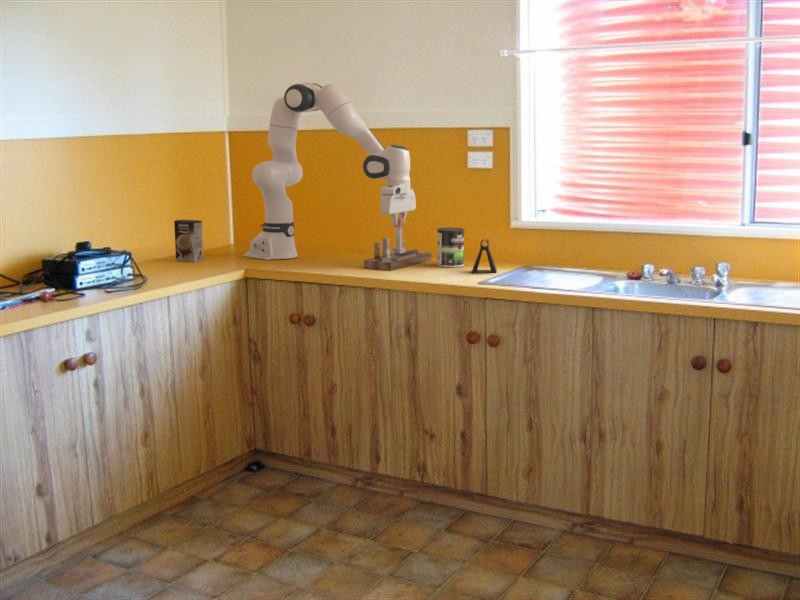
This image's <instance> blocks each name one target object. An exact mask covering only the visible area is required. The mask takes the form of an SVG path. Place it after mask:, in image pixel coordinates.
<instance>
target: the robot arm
mask: <svg viewBox="0 0 800 600" xmlns="http://www.w3.org/2000/svg"><path fill="white" fill-rule="evenodd" d="M315 111H321V112H322V114H323V115H324V117H325V118H326V119H327V121H328V122H329V124H330V125H331V127H332V128H334V129H335V131H337V132H338V133H340V134H343V135H346V136H348V137H349V138H350V137H351V138H353V139H354V140H356V141H357V142H358V143H359V144H360V145H361V147H362V148H363V149H364V150H365V152H366V153H367V154H368V156H366V157H365V158H364V160H363V163H362V170H363V173H364V174H365V176H366V177H367V178H369V179H372V180H380V179H381V180H382V179H386V180H387V181H386V184H385V185H383V186H382V187H381V188H380V189H379V194H380V213H381V214H382V215H386V216H387V215H388V216H389V215H390V216H391V219H392V225H393V226H394V225H398V224H399V220H398V219H397V216H399V214H400V216H403V217H404V224H405V223H406V218H407V213H408V212H412V211H415V210H416V208H417V203H416V202H417V201H416V200H417V199H416V195H415V192H414V189H413V187H412V186H411V177H410V171H411V156H410V155H411V154H410V151H409V149H408V148H407V147H405V146H403V145H398V144H390V145H388V146H387V147H386V148H385V146H384V145H383V144H382V143H381V142H380V141H379V139H378V138H377V137H376V135H375V134H374V133H373V132H372V131H371V129H370V127H368V126H367V124H366V123H365V121H364V120H363V119H362V118H361V116H360V114H359V113H358V111H357V109H356V108H355V107H354V105H353V104H352V103H351V101H350V100H349V98H348V97H347V95H346V94H345V93H344V92H343V91H342V90H341V89H340V88H339V87H338V86H337V85H335V84H333V83H332V84H331V83H329V84H326V85H323V86H322V85H320V84H318V83H311V82H303V83H294V84H292V85H290V86H289V87H288V88H286V90H285V92H284V96H281V97H278V98H277V99H275V101H274V103H273V106H272V110H271V113H270V117H269V118H270V119H269V126H268V133H267V145H268V146H269V148H270V149H271V152H272V160H266V161H263V162H260V163H257V164H256V165H255V166H254V167H253V169H252V174H251V175H252V180H253V182H254V184H255V185H256V186H257V187H258V188H259V190H260V192H261V195H262V198H263V204H264V213H265V214H264V216H265V217H264V218H265V222H264V223H261V224H259V225H260V228H262V229H261V230H262V231H261V232H260V233H259V234H257V236H255V237H254V238H252V239H251V240H250V243H249V251H247V252H245V253H243V256H244V257H247V258H252V259H253V258H254V259H258V260H260V259H261V260H267V261H269V260H282V259H283V260H285V259H293V258H297V257H298V256H299V255H298V252H297V248H296V243H295V242H296V241H295V221H294V210H293V208H294V207H293V205H294V204H293V202H292V200H291V199H290V198H289V196H288V195H287V192H286V187H287V188H288V187H292V186H294V185H296V184H298V183H299V182H300V181H301V180H302V178H303V175H304V172H303V168H302V165H301V164H300V162H299V161H298V157H297V156H298V155H297V148H296V147H297V146H296V145H297V144H296V143H297V136H298V135H297V134H298V126H299V118H300V116H301V114H302V113H310V112H315Z"/></svg>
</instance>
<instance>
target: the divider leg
mask: <svg viewBox="0 0 800 600" xmlns="http://www.w3.org/2000/svg"><path fill="white" fill-rule="evenodd" d="M397 219H398V220H399V224H398V225H393V228H395V247H392V254H393V253H396V254H401V253H405V250H406V246H405V247H402V237H403V228H405V223H404V217H403V216H401V215H400V216H399V215H398V216H397Z"/></svg>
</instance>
